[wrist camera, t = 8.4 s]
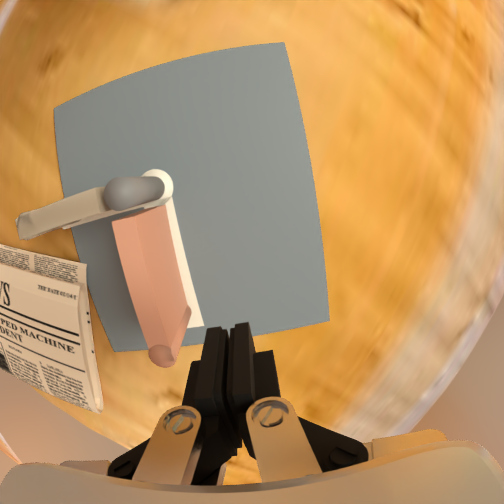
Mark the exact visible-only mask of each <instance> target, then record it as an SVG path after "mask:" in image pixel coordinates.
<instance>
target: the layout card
mask: <svg viewBox="0 0 504 504" xmlns="http://www.w3.org/2000/svg"><path fill="white" fill-rule="evenodd" d="M54 121H55V134H56V145H57V154H58V162H59V169H60V175H61V182H62V187H63V193H64V198H67V197H70V196H73V195H76V194H78V193H81V192H84V191H87V190H90V189H93V188H96V187H105V186H106V185H107V183H108V182H109V181H110V180H111V179H113V178H116V177H140V176H156V177H159V178H160V179H161V180H162V181H163V182H164V185H165V191H164V194H163V196H162V197H161V198H160V199H158V200H155V201H151V202H148V203H145V204H141V205H138V206H135V207H131V208H128V209H125V210H122V211H115V210H109V211H106V212H103V213H99V214H96V215H93V216H89V217H86V218H83V219H81V220H80V221H79V222H76V223H73V224H70V225H67V226H64V227H63V230H64V229H67V228H71V230H72V234H73V238H74V242H75V245H76V249H77V253H78V256H79V259H80V263H84V264H87V268H86V281H87V285H88V288H89V290H90V293H91V296H92V299H93V302H94V304H95V307H96V310H97V312H98V315H99V317H100V320H101V322H102V325H103V327H104V330H105V332H106V334H107V337H108V339H109V341H110V343H111V346H112V348H113V350H114V352H122V351H137V350H149V348H148V346H147V343H146V340H145V338H144V335H143V332H142V329H141V326H140V323H139V320H138V317H137V314H136V311H135V308H134V305H133V302H132V299H131V295H130V292H129V289H128V285H127V282H126V278H125V275H124V271H123V267H122V264H121V260H120V256H119V252H118V248H117V244H116V239H115V235H114V231H113V226H112V221H114V220H117V219H120V218H122V217H125V216H127V215H130V214H133V213H136V212H138V211H141V210H144V209H147V208H151V207H155V206H160V205H165V204H166V210H167V215H168V220H169V225H170V230H171V235H172V240H173V245H174V249H175V254H176V258H177V263H178V267H179V272H180V276H181V280H182V284H183V288H184V292H185V296H186V300H187V304H188V305H189V307H190V308H191V312H192V313H191V317H190V320H189V323H188V326H187V329H186V332H185V335H184V338H183V341H182V344H181V346H188V345H197V344H204V340H205V335H206V330H207V328H211V327H218V326H221V327H222V329H227V331H228V335H229V338H230V328H235V324H238V323H244V322H249V325H250V329H251V333H252V336H257V335H263V334H268V333H274V332H279V331H284V330H289V329H294V328H299V327H304V326H309V325H313V324H318V323H322V322H327V321H330V318H329V305H328V292H327V281H326V271H325V261H324V252H323V243H322V235H321V227H320V219H319V212H318V205H317V198H316V191H315V185H314V179H313V173H312V167H311V161H310V155H309V150H308V144H307V139H306V134H305V129H304V124H303V119H302V114H301V109H300V105H299V100H298V96H297V91H296V87H295V83H294V78H293V74H292V70H291V66H290V62H289V58H288V54H287V51H286V47H285V43H284V42H281V43H269V44H259V45H251V46H243V47H237V48H230V49H224V50H219V51H214V52H209V53H204V54H199V55H195V56H190V57H186V58H182V59H178V60H175V61H171V62H167V63H164V64H160V65H157V66H154V67H151V68H148V69H144V70H141V71H138V72H136V73H133V74H130V75H127V76H124V77H122V78H119V79H117V80H114V81H111V82H109V83H106V84H104V85H102V86H99V87H97V88H95V89H92V90H90V91H88V92H86V93H84V94H82V95H79V96H77V97H75V98H73V99H71V100H69V101H67V102H65V103H63V104H61V105H60V106H58V107H56V108H54Z"/></svg>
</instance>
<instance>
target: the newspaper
mask: <svg viewBox="0 0 504 504" xmlns="http://www.w3.org/2000/svg"><path fill="white" fill-rule="evenodd" d="M86 268H87V264H84V263H79V262H74V261H69V260H65V259H60V258H56V257H51V256H47V255H43V254H38V253H34V252H30V251H25V250H21V249H17V248H13V247H9V246H5V245H1V244H0V369H2V370H4V371H6V372H7V373H9V374H11V375H13V376H14V377H16V378H18V379H20V380H22V381H24V382H26V383H28V384H29V385H31V386H33V387H35V388H38V389H40V390H42V391H44V392H46V393H48V394H50V395H53V396H55V397H57V398H59V399H62V400H64V401H67V402H69V403H72V404H74V405H77V406H79V407H82V408H85V409H87V410H90V411H93V412H96V413H99V414H101V412H102V411H103V397H102V390H101V383H100V379H99V373H98V368H97V362H96V356H95V350H94V343H93V335H92V327H91V318H90V307H89V299H88V291H87V281H86Z"/></svg>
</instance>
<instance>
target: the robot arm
mask: <svg viewBox="0 0 504 504" xmlns="http://www.w3.org/2000/svg"><path fill="white" fill-rule="evenodd" d="M242 439H243V442H244V444H245V446H246V448H247V450H248V453H249V455H250V456H251V457H252V458H254V459H255V460H257V464H258V468H259V472H260V476H261V479H262V483H255V484H242V485H223V480H224V476H225V471H226V463H225V462H227V461H228V460H229V459H230V458H231V457H232V456H237V448H242ZM0 504H504V471H503V469H502V468H501V467H500V465H499V464H498V463H497V461H496V460H495V459H494V458H493V456H492V455H491V454H490V453H489V452H488V451H487V450H486V449H485V448H483V447H482V446H481V445H479V444H477V443H475V442H472V441H466V440H449V441H447V438H446V437H445V434H443V433H442V432H441V431H439V430H435V429H426V430H422V431H417V432H413V433H408V434H403V435H397V436H391V437H385V438H379V439H372V442H368V443H361V442H359V441H357V440H355V439H352V438H349V437H347V436H344V435H341V434H339V433H336V432H334V431H331V430H329V429H326V428H324V427H321V426H319V425H316V424H314V423H312V422H309V421H307V420H305V419H303V418H300V417H298V416H297V414H296V412H295V410H294V408H293V406H292V404H291V403H290V402H289V401H287V400H286V399H284V398H281V395H280V389H279V383H278V377H277V371H276V365H275V360H274V355H273V350H270V351H264V352H258V353H256V351H255V347H254V342H253V338H252V333H251V329H250V325H249V322H244V323H238V324H235V328H230V338H229V335H228V331H227V329H222V327H221V326H218V327H211V328H207V330H206V335H205V340H204V345H203V351H202V356H201V360H199V361H193V362H192V363H191V366H190V371H189V375H188V380H187V384H186V388H185V393H184V398H183V402H182V406H177V407H174V408H171V409H169V410H167V411H166V412H165V413H164V414H163V415H162V416H161V418H160V419H159V421H158V424H157V426H156V428H155V430H154V432H153V434H152V436H151V438H149V439H148V440H146V441H144V442H143V443H141V444H140V445H138V446H136V447H135V448H133V449H131V450H130V451H128V452H126V453H125V454H123V455H121V456H119V457H118V458H116V459H115V460H114V461H112V463H110V462H109V461H108V460H102V461H65V462H63V463H61V464H60V465H55V464H50V463H37V462H36V463H25V464H20V465H17V466H15V467H13V468H12V469H11V470H10V471H9V472H8V474H7V475H6V476H5V478H4V480H3V481H2V483H1V485H0Z"/></svg>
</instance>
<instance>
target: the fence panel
mask: <svg viewBox="0 0 504 504" xmlns="http://www.w3.org/2000/svg"><path fill="white" fill-rule="evenodd" d="M164 191H165V185H164V182H163V181H162V180H161V179H160V178H159V177H156V176H140V177H116V178H113V179H111V180H110V181H109V182H108V183H107V185H106V187H105V189H104V200H105V202H106V204H107V206H108V207H109V208H111V209H112V210H115V211H122V210H125V209H128V208H131V207H135V206H138V205H141V204H145V203H148V202H151V201H155V200H158V199H160V198H161V197H162V196H163V194H164ZM112 226H113V231H114V235H115V239H116V244H117V248H118V252H119V256H120V260H121V264H122V267H123V271H124V275H125V278H126V282H127V285H128V289H129V292H130V295H131V299H132V302H133V305H134V308H135V311H136V314H137V317H138V320H139V323H140V326H141V329H142V332H143V335H144V338H145V340H146V343H147V346H148V348H149V352H148V354H149V358H150V359H151V361H152V362H153V363H154V364H156V365H157V366H160V367H164V368H167V367H171V366H173V365H174V364H175V362H176V359H177V356H178V353H179V350H180V347H181V344H182V341H183V338H184V335H185V332H186V329H187V326H188V323H189V320H190V317H191V313H192V312H191V308H190V307H189V305H188V304H187V300H186V296H185V292H184V288H183V284H182V280H181V276H180V272H179V267H178V263H177V258H176V254H175V249H174V245H173V240H172V235H171V230H170V225H169V220H168V215H167V210H166V204H165V205H160V206H155V207H151V208H147V209H144V210H141V211H138V212H136V213H133V214H130V215H127V216H125V217H122V218H120V219H117V220H114V221H112Z"/></svg>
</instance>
